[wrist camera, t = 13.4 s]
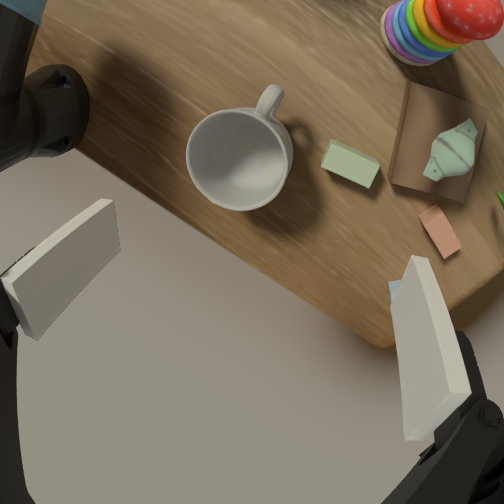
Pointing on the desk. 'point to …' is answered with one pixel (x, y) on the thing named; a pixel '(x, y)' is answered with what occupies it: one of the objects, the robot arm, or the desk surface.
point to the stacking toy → (437, 27)
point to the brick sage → (350, 163)
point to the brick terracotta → (440, 230)
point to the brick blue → (393, 288)
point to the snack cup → (500, 198)
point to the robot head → (452, 152)
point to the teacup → (241, 154)
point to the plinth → (431, 139)
